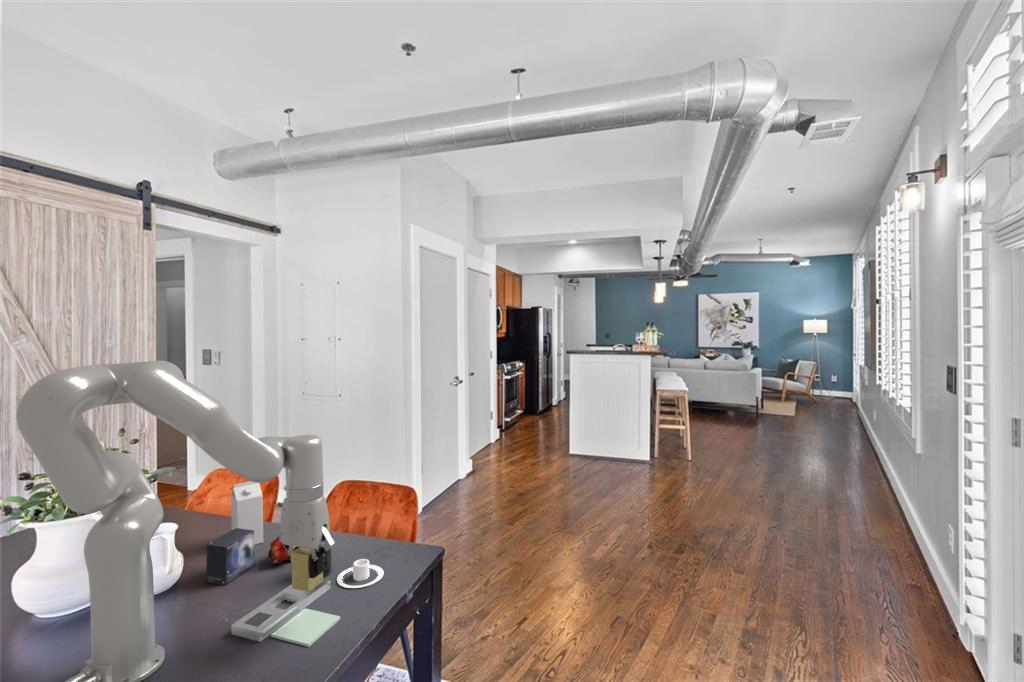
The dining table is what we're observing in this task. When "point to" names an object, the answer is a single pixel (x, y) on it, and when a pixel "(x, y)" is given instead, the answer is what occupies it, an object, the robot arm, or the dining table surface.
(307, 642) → the pad
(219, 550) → the small box
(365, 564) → the candle holder
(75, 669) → the dining table surface
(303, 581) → the yellow block
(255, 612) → the rail
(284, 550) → the dragon fruit
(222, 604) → the dining table surface
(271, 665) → the dining table surface
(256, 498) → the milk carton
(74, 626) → the dining table surface
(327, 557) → the supplement bottle
